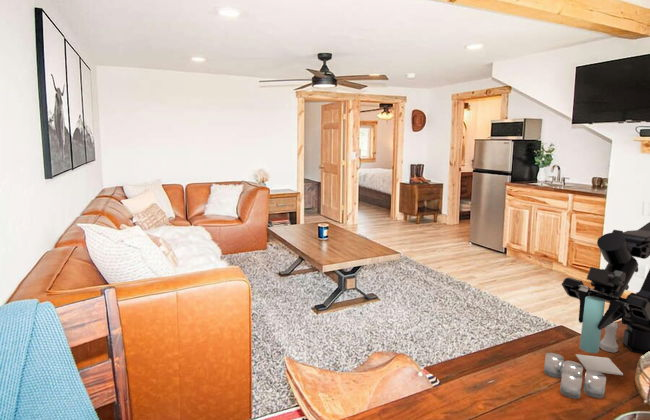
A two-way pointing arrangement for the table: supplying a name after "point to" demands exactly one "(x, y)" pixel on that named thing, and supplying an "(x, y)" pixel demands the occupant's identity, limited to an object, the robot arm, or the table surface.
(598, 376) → the block
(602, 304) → the teal post
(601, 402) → the table surface
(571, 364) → the spacer
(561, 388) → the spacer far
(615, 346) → the rook chess piece
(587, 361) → the grey mat
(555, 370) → the spacer
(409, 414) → the table surface
